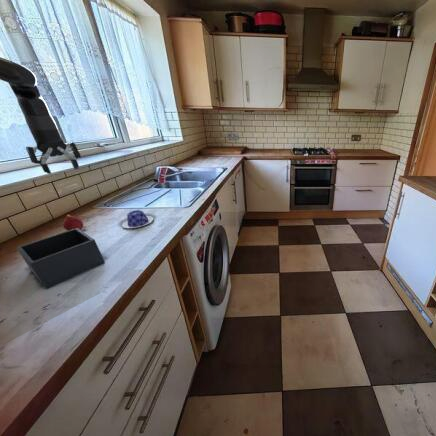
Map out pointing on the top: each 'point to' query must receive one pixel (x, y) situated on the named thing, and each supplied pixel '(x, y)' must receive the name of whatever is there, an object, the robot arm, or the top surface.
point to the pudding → (137, 219)
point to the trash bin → (61, 256)
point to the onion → (72, 223)
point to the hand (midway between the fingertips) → (63, 171)
